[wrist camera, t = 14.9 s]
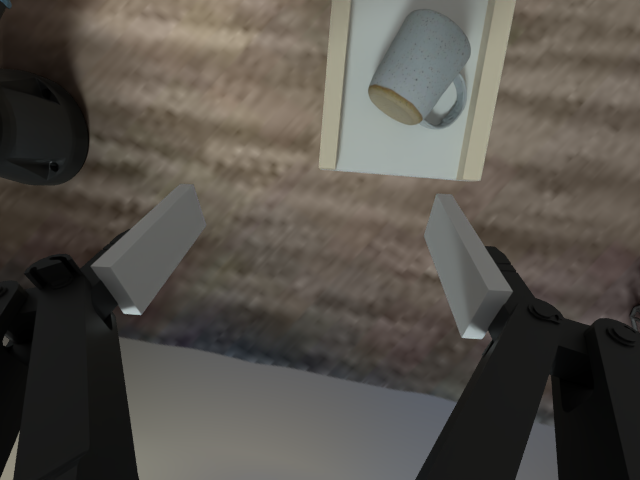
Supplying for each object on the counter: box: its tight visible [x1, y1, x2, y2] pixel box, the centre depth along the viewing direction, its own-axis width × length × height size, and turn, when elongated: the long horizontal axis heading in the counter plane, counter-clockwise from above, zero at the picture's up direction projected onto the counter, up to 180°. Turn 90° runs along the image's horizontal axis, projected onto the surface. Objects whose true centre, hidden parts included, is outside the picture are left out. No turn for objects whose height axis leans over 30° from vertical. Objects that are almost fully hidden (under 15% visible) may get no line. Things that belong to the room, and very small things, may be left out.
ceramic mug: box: [368, 9, 471, 130], centre depth 28 cm, size 11×8×8 cm
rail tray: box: [319, 0, 516, 181], centre depth 32 cm, size 19×22×3 cm
